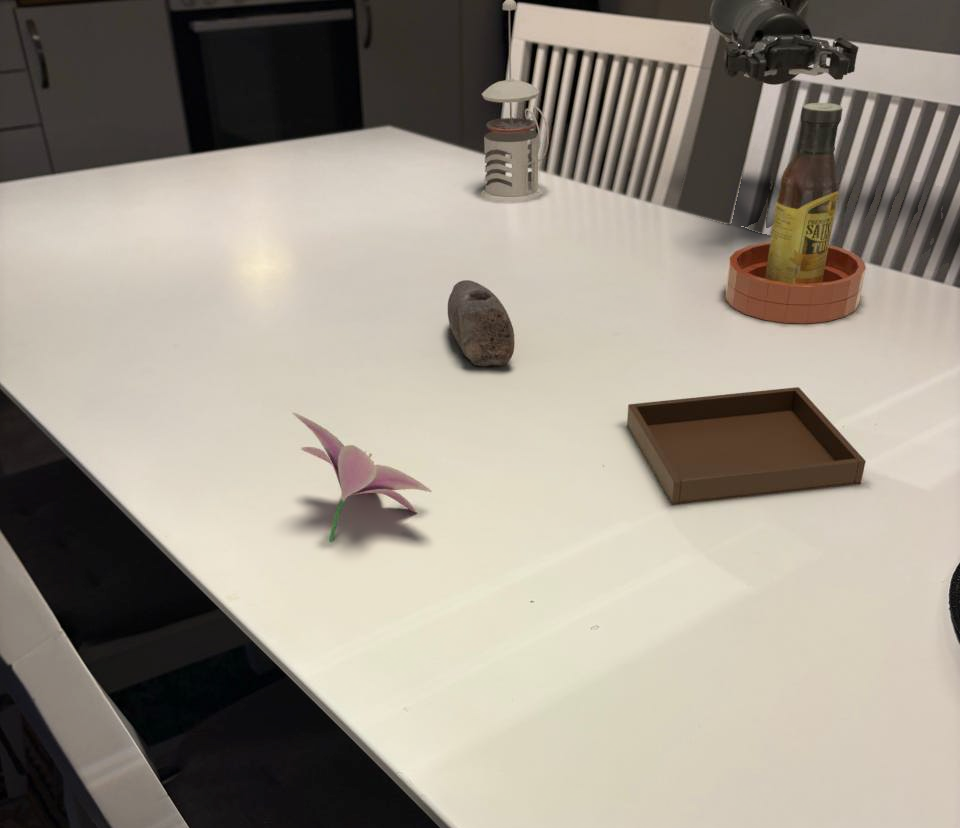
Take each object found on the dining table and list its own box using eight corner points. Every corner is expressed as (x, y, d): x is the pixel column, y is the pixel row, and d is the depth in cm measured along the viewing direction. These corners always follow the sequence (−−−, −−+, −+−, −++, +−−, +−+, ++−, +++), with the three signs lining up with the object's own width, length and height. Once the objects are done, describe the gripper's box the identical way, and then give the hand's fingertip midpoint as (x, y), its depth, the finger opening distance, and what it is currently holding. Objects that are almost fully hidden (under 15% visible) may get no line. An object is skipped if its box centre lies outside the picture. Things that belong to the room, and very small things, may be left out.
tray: (794, 411, 97) (798, 386, 96) (860, 487, 86) (866, 460, 85) (626, 428, 96) (628, 404, 94) (671, 508, 85) (674, 481, 83)
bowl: (825, 274, 125) (832, 236, 122) (879, 320, 113) (888, 279, 111) (708, 285, 123) (712, 246, 120) (751, 332, 112) (757, 291, 109)
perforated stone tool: (438, 326, 116) (434, 264, 112) (484, 320, 117) (482, 258, 113) (468, 381, 105) (465, 314, 100) (518, 375, 106) (518, 308, 101)
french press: (512, 181, 160) (510, -9, 144) (567, 195, 153) (571, -2, 137) (465, 195, 155) (457, 0, 139) (519, 211, 148) (517, 8, 132)
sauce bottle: (801, 313, 115) (833, 116, 102) (751, 300, 118) (777, 108, 106) (830, 296, 118) (864, 104, 106) (781, 284, 122) (809, 96, 109)
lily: (441, 568, 81) (464, 446, 79) (297, 552, 75) (318, 419, 73) (383, 540, 91) (402, 431, 89) (252, 523, 85) (270, 406, 84)
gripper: (716, 8, 123) (740, 33, 111) (838, 4, 123) (875, 28, 110) (709, 79, 128) (731, 110, 115) (826, 75, 127) (861, 106, 115)
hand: (801, 70), depth 113 cm, fingers open, 8 cm apart
